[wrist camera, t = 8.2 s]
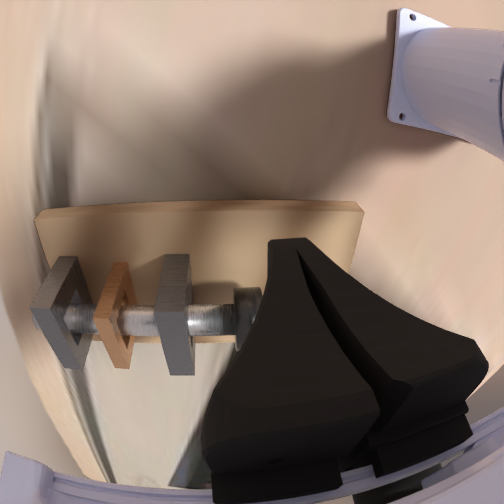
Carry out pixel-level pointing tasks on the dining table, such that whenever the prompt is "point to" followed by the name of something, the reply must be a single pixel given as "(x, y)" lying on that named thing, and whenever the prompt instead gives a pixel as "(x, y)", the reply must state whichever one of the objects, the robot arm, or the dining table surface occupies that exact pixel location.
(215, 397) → the robot arm
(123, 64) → the dining table surface
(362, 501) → the coffee jar
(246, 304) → the shaft
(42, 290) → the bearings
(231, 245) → the base board
